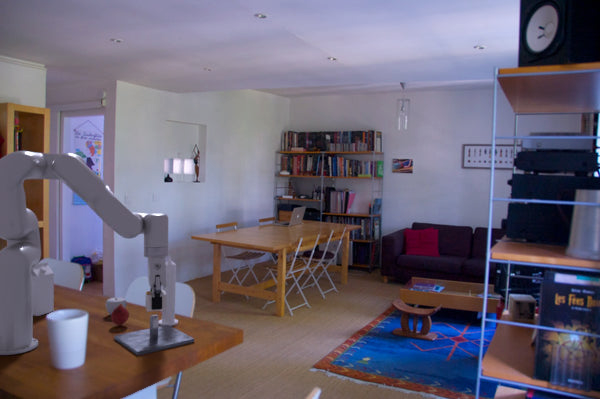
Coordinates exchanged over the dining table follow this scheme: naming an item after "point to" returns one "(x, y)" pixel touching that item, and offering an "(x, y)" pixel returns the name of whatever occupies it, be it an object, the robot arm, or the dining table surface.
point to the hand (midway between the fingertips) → (155, 305)
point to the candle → (169, 295)
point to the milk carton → (42, 289)
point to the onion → (120, 315)
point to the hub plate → (153, 338)
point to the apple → (114, 304)
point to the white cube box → (149, 301)
